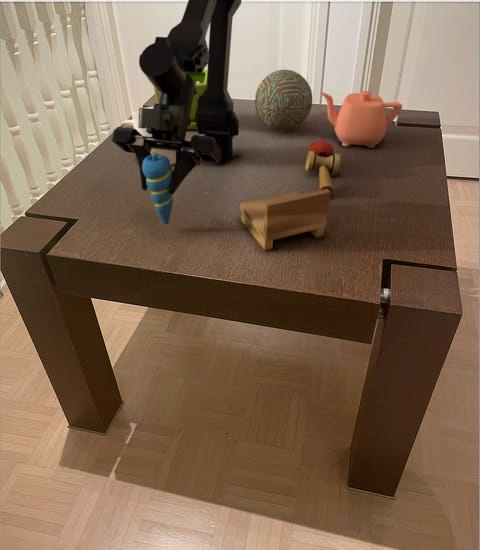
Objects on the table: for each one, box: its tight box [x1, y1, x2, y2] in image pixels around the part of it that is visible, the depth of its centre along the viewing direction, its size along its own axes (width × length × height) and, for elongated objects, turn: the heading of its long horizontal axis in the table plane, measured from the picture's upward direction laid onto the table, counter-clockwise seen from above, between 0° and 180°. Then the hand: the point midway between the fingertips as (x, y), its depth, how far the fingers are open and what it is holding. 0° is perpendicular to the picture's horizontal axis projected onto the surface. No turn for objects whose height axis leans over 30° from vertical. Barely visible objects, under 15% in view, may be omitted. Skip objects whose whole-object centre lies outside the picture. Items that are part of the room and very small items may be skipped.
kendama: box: [305, 139, 341, 197], centre depth 101 cm, size 8×6×18 cm
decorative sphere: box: [254, 69, 313, 132], centre depth 120 cm, size 15×15×15 cm
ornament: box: [142, 149, 174, 225], centre depth 81 cm, size 5×5×15 cm
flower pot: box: [153, 69, 207, 130], centre depth 124 cm, size 14×14×13 cm
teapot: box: [320, 90, 403, 149], centre depth 114 cm, size 13×20×12 cm, turn 81°
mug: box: [122, 106, 176, 166], centre depth 108 cm, size 14×10×11 cm
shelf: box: [239, 189, 331, 252], centre depth 84 cm, size 12×12×10 cm
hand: (157, 192), depth 80 cm, fingers closed on ornament, 5 cm apart
